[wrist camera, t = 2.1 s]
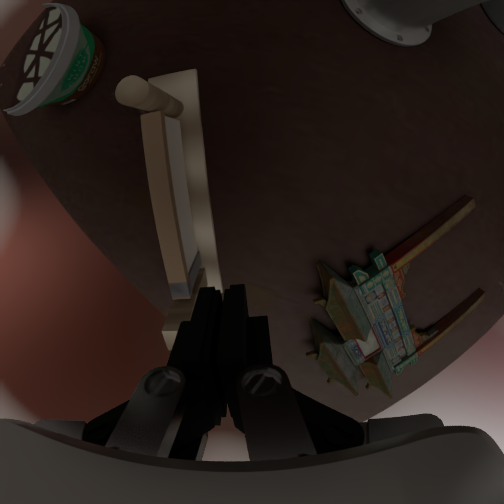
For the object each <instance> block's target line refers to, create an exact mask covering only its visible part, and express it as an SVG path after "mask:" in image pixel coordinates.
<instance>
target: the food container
mask: <svg viewBox="0 0 504 504" xmlns="http://www.w3.org/2000/svg"><path fill="white" fill-rule="evenodd" d="M43 6H45V7H46V8H47V10H46V12H45V13H44V15H43V18H42V20H41V22H40V24H39V26H38V28H37V30H36V32H35V34H34V36H33V38H32V40H31V41H30V43H29V45H28V47H27V49H26V51H25V53H24V56H23V60H22V63H21V67H20V72H19V77H18V81H17V85H16V88H15V92H14V96H13V100H12V103H11V107H10V109H6V110H3V111H7V114H11V115H14V116H19V115H23V114H26V113H28V112H30V111H31V110H33V109H34V108H36V107H41V106H51V105H65V104H70V103H73V102H75V101H78V100H79V99H81V98H82V97H83V96H85V95H86V94H88V92H89V91H90V90H91V89H92V88H93V87H94V86H95V84H96V83H97V81H98V80H99V78H100V76H101V74H102V72H103V69H104V66H105V62H106V50H105V46H104V44H103V43H102V41H101V40H100V39H98V38H97V37H96V36H95V35H94V34H93V33H91V32H90V31H89V30H88V29H87V28H86V27H84V26H83V25H82V24H81V23H79V18H78V14H77V13H76V11H75V10H74V9H73V8H72V7H70V6H67V5H63V4H58V3H47V4H43Z"/></svg>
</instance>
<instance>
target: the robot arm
mask: <svg viewBox="0 0 504 504" xmlns="http://www.w3.org/2000/svg"><path fill="white" fill-rule="evenodd" d="M341 1H342V3H343V5H344V7H345V8H346V10H347V11H348V13H349V14H350V15H351V16H352V17H353V18H354V19H355V21H356V22H358V23H359V24H360V25H361V26H362V27H363V28H364V29H366V30H367V31H369V32H370V33H371V34H373V35H374V36H376V37H378V38H380V39H381V40H384V41H386V42H388V43H391V44H394V45H398V46H404V47H411V46H416V45H419V44H421V43H423V42H425V41H426V40H427V39H428V38H429V36H430V34H431V30H432V24H433V23H435V22H437V21H439V20H441V19H444V18H446V17H448V16H450V15H452V14H455V13H457V12H459V11H462V10H464V9H467V8H469V7H472V6H474V5H477V4H480V3H483V2H485V1H488V0H341ZM227 404H228V407H229V411H230V415H231V417H232V418H233V421H234V425H235V427H236V428H237V429H239V430H240V431H242V432H243V433H244V434H245V438H246V443H247V449H248V453H249V459H250V461H241V462H240V461H235V462H224V461H202V457H203V454H204V450H205V447H206V443H207V439H208V431H210V430H211V429H212V428H214V427H215V425H220V423H221V417H226V413H227ZM0 504H504V454H503V452H502V451H501V449H500V448H499V446H498V445H497V444H496V442H495V441H494V440H493V439H492V438H491V437H490V436H489V435H488V434H487V433H486V432H484V431H483V430H481V429H479V428H475V427H470V426H444V425H443V422H442V420H441V419H439V418H438V417H437V416H435V415H432V414H418V415H410V416H402V417H392V418H380V419H368V422H357V421H356V420H354V419H352V418H350V417H348V416H346V415H344V414H342V413H340V412H338V411H336V410H334V409H331V408H329V407H327V406H325V405H323V404H321V403H319V402H317V401H315V400H314V399H312V398H310V397H308V396H306V395H304V394H302V393H300V392H298V391H296V390H295V389H293V388H292V387H291V384H290V381H289V379H288V376H287V374H286V373H285V371H284V370H282V369H281V368H280V367H278V366H275V365H273V363H272V354H271V345H270V335H269V327H268V318H267V316H257V317H249V315H248V307H247V298H246V290H245V284H239V285H230V289H225V293H224V300H223V302H222V296H221V291H220V290H216V289H215V287H214V286H213V287H200V289H199V292H198V295H197V299H196V302H195V305H194V309H193V312H192V316H191V319H190V321H182V322H181V323H180V326H179V329H178V332H177V335H176V338H175V341H174V344H173V347H172V350H171V354H170V357H169V360H168V363H167V366H163V367H158V368H155V369H153V370H151V371H149V372H148V373H147V374H145V375H144V376H143V378H142V379H141V381H140V382H139V385H138V386H137V388H136V390H135V392H134V393H133V395H132V397H131V399H130V400H128V401H126V402H124V403H123V404H121V405H119V406H117V407H115V408H113V409H112V410H110V411H108V412H106V413H104V414H102V415H100V416H98V417H97V418H95V419H93V420H92V421H90V422H89V423H88V424H87V423H86V422H85V421H69V420H51V419H50V420H49V419H42V420H39V421H38V422H36V423H35V424H31V423H28V422H24V421H20V420H13V419H0Z"/></svg>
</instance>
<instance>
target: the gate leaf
mask: <svg viewBox="0 0 504 504" xmlns="http://www.w3.org/2000/svg"><path fill="white" fill-rule="evenodd" d="M140 116H141V127H142V137H143V145H144V154H145V161H146V169H147V176H148V182H149V189H150V195H151V201H152V207H153V212H154V218H155V223H156V228H157V233H158V238H159V243H160V248H161V252H162V257H163V261H164V266H165V270H166V274H167V278H168V282H169V287H170V290H171V294H172V298H173V299H190V298H191V295H192V289H193V286H194V283H195V280H196V278H197V275H198V272H199V269H200V266H201V264H202V263H201V258H200V252H199V251H197V245H196V239H195V233H194V227H193V220H192V214H191V207H190V200H189V193H188V186H187V179H186V171H185V163H184V155H183V146H182V137H181V127H180V121H179V120H176V119H173V118H170V117H167V116H165V115H164V112H163V111H156V112H152V113H147V114H143V115H140Z"/></svg>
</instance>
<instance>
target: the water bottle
mask: <svg viewBox="0 0 504 504" xmlns="http://www.w3.org/2000/svg"><path fill="white" fill-rule="evenodd" d="M481 4H482V7H483V9H484V10H485V12H486V14H487V15H488V17H489V18H490V20H491V21H492V22H493V24H494V25H495V26H496V27H497V28H498V29H499V30H500V31H501V32H502V33H504V0H488V1H485V2H483V3H481Z"/></svg>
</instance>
